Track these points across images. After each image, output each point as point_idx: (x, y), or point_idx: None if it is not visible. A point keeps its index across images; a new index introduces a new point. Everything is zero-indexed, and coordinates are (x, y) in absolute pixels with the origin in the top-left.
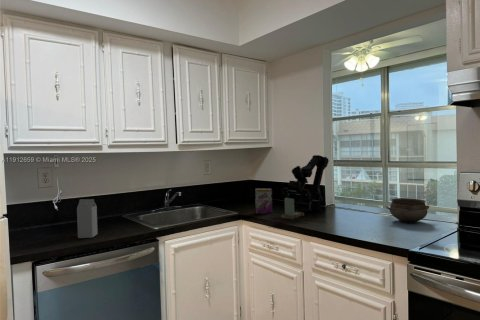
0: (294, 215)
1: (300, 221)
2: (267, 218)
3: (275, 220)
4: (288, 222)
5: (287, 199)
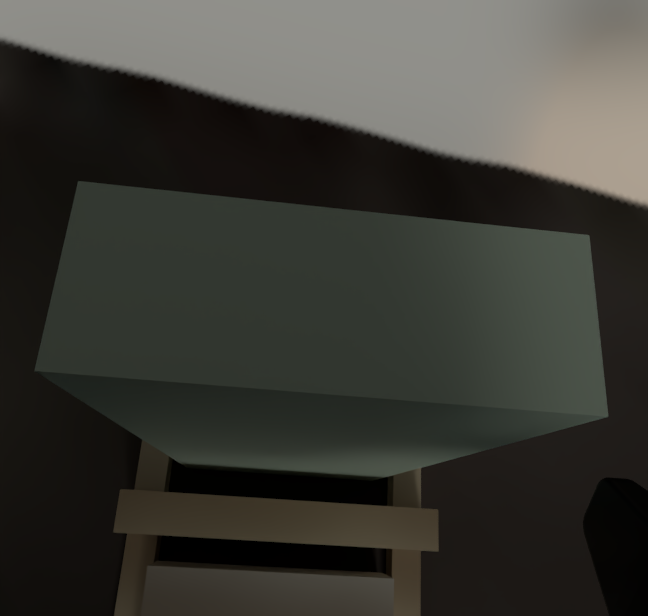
0: (190, 494)
1: (3, 358)
2: (628, 275)
3: (432, 213)
4: (174, 190)
5: (395, 235)
